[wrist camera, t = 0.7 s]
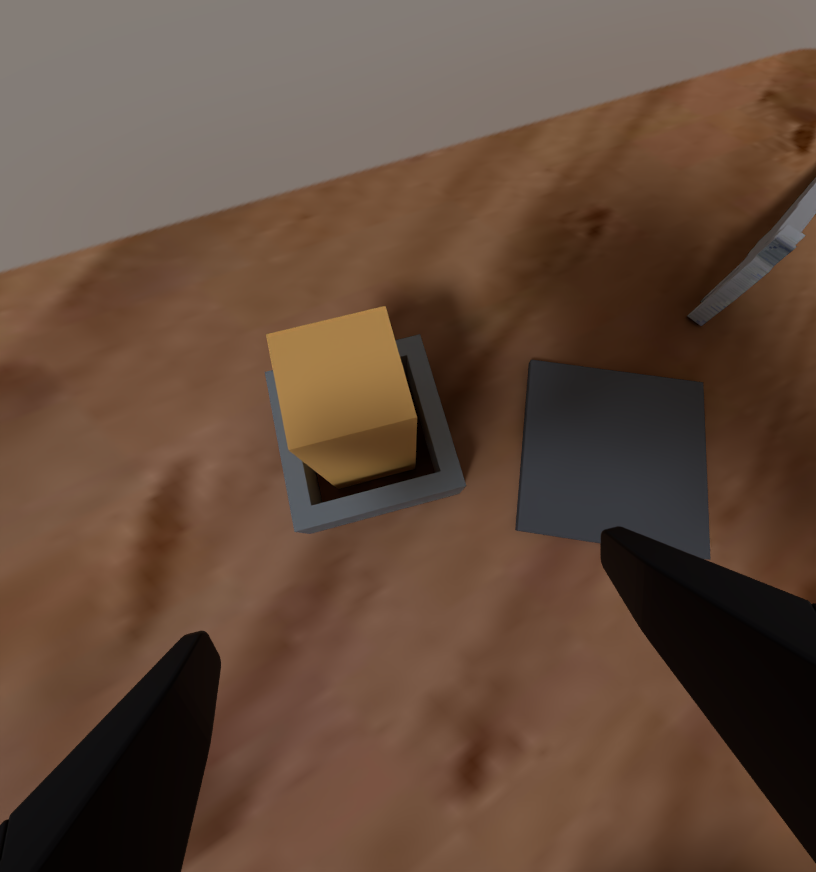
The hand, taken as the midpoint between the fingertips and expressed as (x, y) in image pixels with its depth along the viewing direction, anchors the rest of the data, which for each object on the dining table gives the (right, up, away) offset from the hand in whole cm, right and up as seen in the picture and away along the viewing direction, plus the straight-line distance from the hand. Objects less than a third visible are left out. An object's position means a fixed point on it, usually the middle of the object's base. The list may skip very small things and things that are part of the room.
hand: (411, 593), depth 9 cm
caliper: (+25, +17, +19) cm, 35 cm away
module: (-2, +3, +15) cm, 15 cm away
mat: (+11, +2, +14) cm, 18 cm away
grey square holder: (-2, +3, +15) cm, 15 cm away
